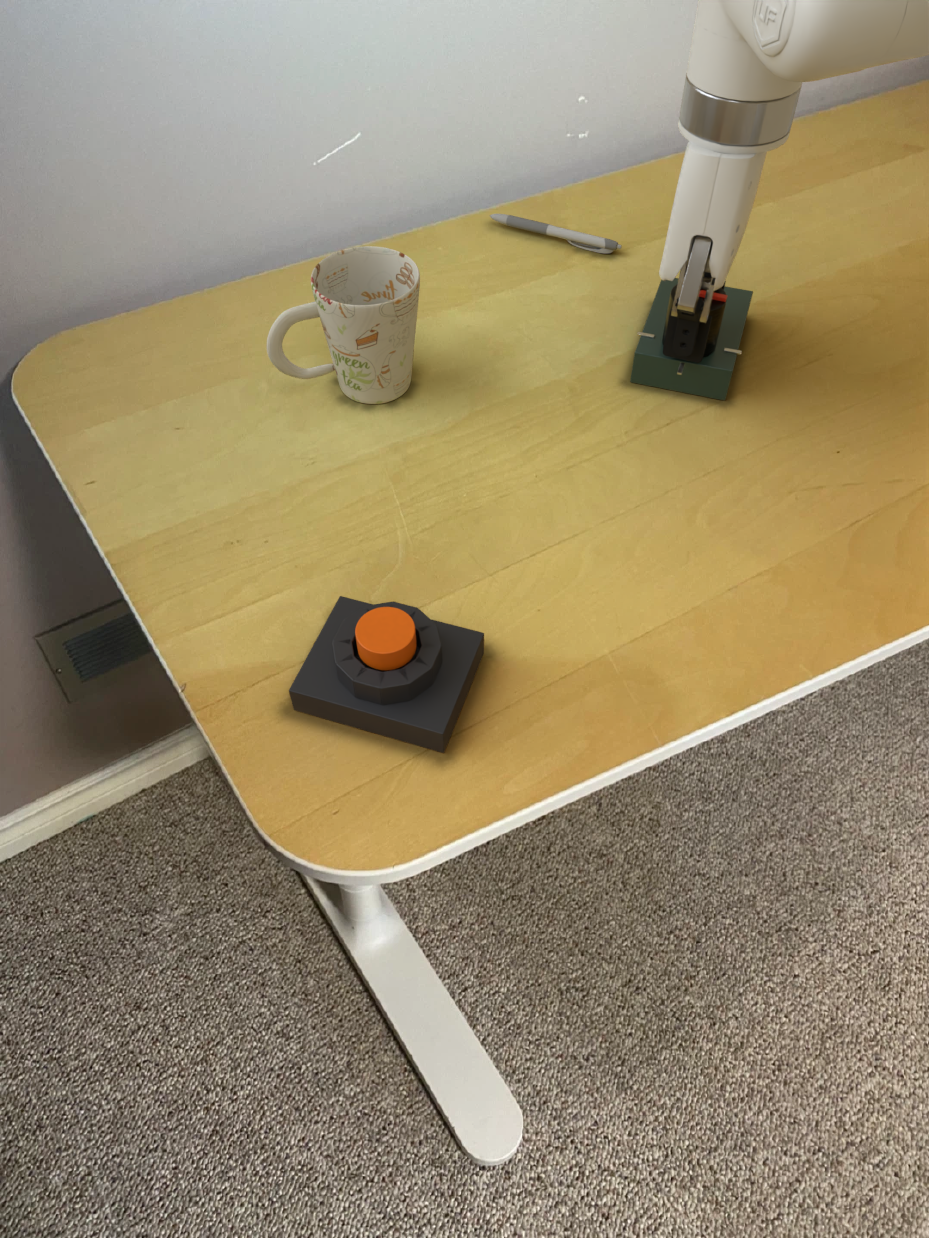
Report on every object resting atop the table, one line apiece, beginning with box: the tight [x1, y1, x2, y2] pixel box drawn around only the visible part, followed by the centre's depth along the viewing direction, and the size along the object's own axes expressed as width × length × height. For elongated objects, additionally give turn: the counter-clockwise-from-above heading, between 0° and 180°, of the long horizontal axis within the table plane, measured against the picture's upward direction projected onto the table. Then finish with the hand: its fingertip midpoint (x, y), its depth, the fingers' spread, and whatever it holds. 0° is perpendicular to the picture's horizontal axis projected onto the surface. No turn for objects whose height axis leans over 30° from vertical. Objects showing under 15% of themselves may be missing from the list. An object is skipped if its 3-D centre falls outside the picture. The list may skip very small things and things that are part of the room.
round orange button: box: [355, 607, 416, 670], centre depth 58 cm, size 4×4×2 cm
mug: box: [266, 245, 421, 405], centre depth 77 cm, size 8×13×10 cm, turn 112°
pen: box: [489, 213, 623, 254], centre depth 95 cm, size 1×14×1 cm, turn 64°
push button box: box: [288, 595, 485, 754], centre depth 60 cm, size 10×8×4 cm
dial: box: [662, 284, 727, 358], centre depth 77 cm, size 4×4×5 cm
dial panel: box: [629, 277, 754, 401], centre depth 82 cm, size 14×9×3 cm, turn 162°
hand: (689, 337), depth 79 cm, fingers closed on dial, 4 cm apart
